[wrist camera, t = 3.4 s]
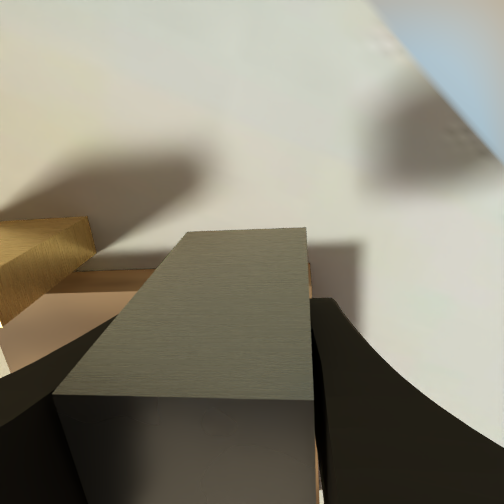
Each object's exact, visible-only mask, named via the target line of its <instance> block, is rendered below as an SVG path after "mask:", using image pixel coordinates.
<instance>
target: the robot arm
mask: <svg viewBox="0 0 504 504" xmlns="http://www.w3.org/2000/svg"><path fill="white" fill-rule="evenodd" d="M309 301H310V324H311V346H312V369H313V391H314V426H315V440H316V447H317V454H318V461H319V468H320V475H321V482H322V489H323V498H324V504H504V448H503V447H501V446H500V445H498V444H496V443H495V442H493V441H492V440H490V439H488V438H487V437H485V436H484V435H482V434H480V433H479V432H477V431H475V430H474V429H472V428H471V427H469V426H468V425H466V424H465V423H464V422H462V421H461V420H459V419H458V418H456V417H455V416H453V415H452V414H450V413H449V412H447V411H446V410H444V409H443V408H442V407H440V406H439V405H437V404H436V403H435V402H433V401H432V400H431V399H429V398H428V397H427V396H425V395H424V394H423V393H421V392H420V391H419V390H418V389H417V388H415V387H414V386H413V385H412V384H410V383H409V382H408V381H407V380H405V379H404V378H403V377H402V376H401V375H400V374H399V373H398V372H396V371H395V370H394V369H393V368H392V367H391V366H390V365H389V364H388V363H387V362H386V361H385V360H384V359H383V358H382V357H381V356H380V355H379V354H378V353H377V352H376V351H375V350H374V349H373V348H372V347H371V346H370V345H369V343H368V342H367V341H366V340H365V339H364V338H363V337H362V335H361V334H360V333H359V332H358V331H357V330H356V328H355V327H354V326H353V325H352V324H351V322H350V321H349V320H348V318H347V317H346V316H345V314H344V313H343V312H342V310H341V309H340V307H339V306H338V304H337V302H336V301H335V300H334V299H332V298H309ZM116 317H117V315H116V316H114V317H112V318H111V319H109V320H107V321H106V322H104V323H102V324H101V325H99V326H97V327H96V328H94V329H92V330H90V331H89V332H87V333H85V334H84V335H82V336H80V337H79V338H77V339H75V340H73V341H71V342H70V343H68V344H66V345H64V346H62V347H61V348H59V349H57V350H55V351H53V352H51V353H50V354H48V355H46V356H44V357H42V358H41V359H39V360H37V361H35V362H33V363H31V364H29V365H27V366H25V367H23V368H21V369H19V370H17V371H15V372H13V373H11V374H9V375H6V376H4V377H2V378H0V504H88V502H87V499H86V496H85V493H84V490H83V487H82V484H81V481H80V478H79V475H78V472H77V469H76V466H75V463H74V460H73V457H72V454H71V451H70V448H69V445H68V442H67V439H66V436H65V433H64V430H63V427H62V424H61V421H60V418H59V415H58V412H57V409H56V406H55V403H54V400H53V397H52V393H53V392H54V391H55V389H56V388H57V387H58V386H59V385H60V383H61V382H62V381H63V380H64V379H65V378H66V376H67V375H68V374H69V373H70V372H71V370H72V369H73V368H74V367H75V366H76V364H77V363H78V362H79V361H80V360H81V358H82V357H83V356H84V355H85V354H86V352H87V351H88V350H89V349H90V348H91V346H92V345H93V344H94V343H95V342H96V340H97V339H98V338H99V337H100V336H101V334H102V333H103V332H104V331H105V330H106V328H107V327H108V326H109V325H110V324H111V323H112V321H113V320H114V319H115V318H116Z"/></svg>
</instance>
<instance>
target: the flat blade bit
mask: <svg viewBox="0 0 504 504" xmlns="http://www.w3.org/2000/svg"><path fill="white" fill-rule="evenodd" d="M96 253H97V252H96V248H95V244H94V240H93V237H92V233H91V229H90V225H89V221H88V217H87V216H83V217H66V218H48V219H31V220H13V221H0V327H3V326H4V325H6V324H7V323H8V322H10V321H11V320H12V319H13V318H15V317H16V316H17V315H18V314H20V313H21V312H22V311H24V310H25V309H26V308H27V307H29V306H30V305H31V304H32V303H34V302H35V301H36V300H38V299H39V298H40V297H41V296H43V295H44V294H45V293H46V292H48V291H49V290H50V289H52V288H53V287H54V286H55V285H57V284H58V283H59V282H60V281H62V280H63V279H64V278H66V277H67V276H68V275H69V274H71V273H72V272H73V271H74V270H76V269H77V268H78V267H80V266H81V265H82V264H83V263H85V262H86V261H87V260H88V259H90V258H91V257H92V256H94V255H95V254H96Z"/></svg>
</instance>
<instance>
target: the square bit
mask: <svg viewBox="0 0 504 504" xmlns="http://www.w3.org/2000/svg"><path fill="white" fill-rule="evenodd" d="M52 397H53V400H54V403H55V406H56V409H57V412H58V415H59V418H60V421H61V424H62V427H63V430H64V433H65V436H66V439H67V442H68V445H69V448H70V451H71V454H72V457H73V460H74V463H75V466H76V469H77V472H78V475H79V478H80V481H81V484H82V487H83V490H84V493H85V496H86V499H87V502H88V504H316V469H315V426H314V391H313V369H312V346H311V324H310V301H309V279H308V256H307V233H306V227H303V228H276V229H249V230H222V231H195V232H187V233H186V234H185V235H184V236H183V238H182V239H181V240H180V241H179V242H178V244H177V245H176V246H175V247H174V248H173V250H172V251H171V252H170V253H169V254H168V256H167V257H166V258H165V259H164V260H163V262H162V263H161V264H160V265H159V266H158V268H157V269H156V270H155V271H154V272H153V273H152V275H151V276H150V277H149V278H148V279H147V281H146V282H145V283H144V284H143V285H142V287H141V288H140V289H139V290H138V291H137V293H136V294H135V295H134V296H133V297H132V299H131V300H130V301H129V302H128V303H127V305H126V306H125V307H124V308H123V309H122V311H121V312H120V313H119V314H118V315H117V317H116V318H115V319H114V320H113V321H112V323H111V324H110V325H109V326H108V327H107V328H106V330H105V331H104V332H103V333H102V334H101V336H100V337H99V338H98V339H97V340H96V342H95V343H94V344H93V345H92V346H91V348H90V349H89V350H88V351H87V352H86V354H85V355H84V356H83V357H82V358H81V360H80V361H79V362H78V363H77V364H76V366H75V367H74V368H73V369H72V370H71V372H70V373H69V374H68V375H67V376H66V378H65V379H64V380H63V381H62V382H61V383H60V385H59V386H58V387H57V388H56V389H55V391H54V392H53V393H52Z"/></svg>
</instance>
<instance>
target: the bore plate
mask: <svg viewBox="0 0 504 504" xmlns="http://www.w3.org/2000/svg"><path fill="white" fill-rule="evenodd" d="M155 270H156V269H136V270H109V271H82V272H72V273H71V274H69V275H68V276H67V277H66V278H64V279H63V280H62V281H60V282H59V283H58V284H57V285H55V286H54V287H53V288H52V289H50V290H49V291H48V292H46V293H45V294H44V295H43V296H41V297H40V298H39V299H38V300H36V301H35V302H34V303H32V304H31V305H30V306H29V307H27V308H26V309H25V310H24V311H22V312H21V313H20V314H18V315H17V316H16V317H15V318H13V319H12V320H11V321H10V322H8V323H7V324H6V325H4V326H3V327H0V346H1V349H2V351H3V354H4V356H5V359H6V362H7V364H8V367H9V369H10V372H11V373H13V372H15V371H17V370H19V369H21V368H23V367H25V366H27V365H29V364H31V363H33V362H35V361H37V360H39V359H41V358H42V357H44V356H46V355H48V354H50V353H51V352H53V351H55V350H57V349H59V348H61V347H62V346H64V345H66V344H68V343H70V342H71V341H73V340H75V339H77V338H79V337H80V336H82V335H84V334H85V333H87V332H89V331H90V330H92V329H94V328H96V327H97V326H99V325H101V324H102V323H104V322H106V321H107V320H109V319H111V318H112V317H114V316H116V315H118V314H119V313H120V312H121V311H122V309H123V308H124V307H125V306H126V305H127V303H128V302H129V301H130V300H131V299H132V297H133V296H134V295H135V294H136V293H137V291H138V290H139V289H140V288H141V287H142V285H143V284H144V283H145V282H146V281H147V279H148V278H149V277H150V276H151V275H152V273H153V272H154V271H155ZM308 279H309V298H312V287H311V271H310V263H308ZM315 469H316V504H319V479H318V454H317V447H316V440H315Z"/></svg>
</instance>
